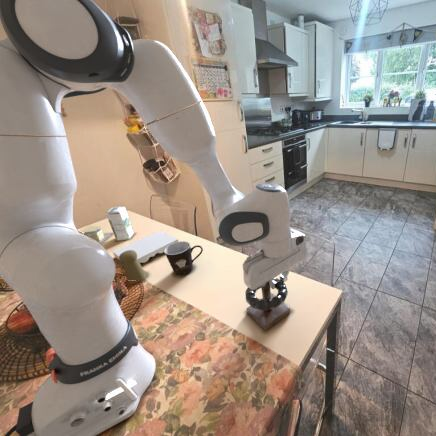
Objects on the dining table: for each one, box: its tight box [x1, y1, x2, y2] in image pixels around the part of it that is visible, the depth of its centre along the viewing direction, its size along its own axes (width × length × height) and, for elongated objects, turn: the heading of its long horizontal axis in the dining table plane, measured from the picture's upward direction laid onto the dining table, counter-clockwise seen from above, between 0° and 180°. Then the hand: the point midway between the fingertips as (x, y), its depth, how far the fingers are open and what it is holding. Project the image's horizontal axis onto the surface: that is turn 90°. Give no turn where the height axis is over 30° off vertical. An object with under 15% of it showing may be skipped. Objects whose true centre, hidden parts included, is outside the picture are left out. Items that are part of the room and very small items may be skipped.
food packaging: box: [112, 230, 179, 264], centre depth 102 cm, size 15×3×20 cm
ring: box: [244, 277, 289, 311], centre depth 68 cm, size 12×12×3 cm
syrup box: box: [105, 206, 135, 241], centre depth 112 cm, size 6×6×14 cm
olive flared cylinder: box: [118, 250, 147, 285], centre depth 85 cm, size 6×6×11 cm
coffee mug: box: [163, 240, 204, 277], centre depth 88 cm, size 12×9×10 cm
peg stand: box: [246, 282, 291, 331], centre depth 69 cm, size 9×9×10 cm
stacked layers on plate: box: [81, 225, 112, 245], centre depth 113 cm, size 10×9×6 cm
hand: (278, 283), depth 71 cm, fingers closed on ring, 2 cm apart
